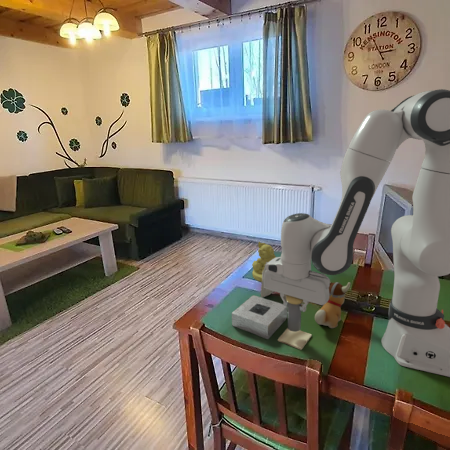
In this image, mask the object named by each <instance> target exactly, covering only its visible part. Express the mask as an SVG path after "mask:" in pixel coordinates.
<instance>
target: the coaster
mask: <svg viewBox="0 0 450 450" xmlns="http://www.w3.org/2000/svg"><path fill="white" fill-rule="evenodd" d="M311 337H312V334H311V333H309V332H306V331H302V330H301V329H300V330H299V331H297V332H294V331H290V330H289V329H288V327H287V328H286V329H285V330H284V331H283V333H282V334H281V335H280V336H279V337H278V339H277V341H278V342H280V343H282V344H285V345H288V346H290V347H293V348H295V349H297V350H300V351H302V350H303V349H304V348H305V345H306V344H308V342H309V340H310V339H311Z"/></svg>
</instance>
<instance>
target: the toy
mask: <svg viewBox="0 0 450 450" xmlns="http://www.w3.org/2000/svg"><path fill="white" fill-rule="evenodd" d="M325 276H327V274H325ZM325 278H326V277H325ZM351 284H352V283H351V282H347V284H346V285H342V284H341V283H340V282H337V281H336V282H331V281H330V286H329V300H328V302H327V303H326V304H324V305H322V307H321V308H319V309H318V310H317V311H316V312H315V314H314V320H315V322H316V324H318V325H323V326H326V327H327V326H328V328H330V329H334V328H337V327H338V326H339V324H338V323H339V322H341V320H342V318H341V315H342V309H341V308H342V305H343V304H344V303H345V297H346V293H347V292H348V291H349V290H350V288H351Z"/></svg>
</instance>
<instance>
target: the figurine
mask: <svg viewBox="0 0 450 450" xmlns="http://www.w3.org/2000/svg"><path fill="white" fill-rule="evenodd" d="M257 243H258V244H257V246H258V250H257V253H258V256H259V257H258V258H257V259H256V260H254V261H253V262H252V265H251V266H252V269H253V270H252V273H251V274H252V277H253V279H254V280H255V281H258V282H260V283H262V272H263V270H264V268H265V264H266V262H269V261H271V260H272V259H274V258H276V257H277V256H276V255H275V250H274V248H273V247H272V246H271V245H270V244H267V243H265V242H261V241H258V242H257Z"/></svg>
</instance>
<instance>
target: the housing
mask: <svg viewBox="0 0 450 450" xmlns="http://www.w3.org/2000/svg"><path fill="white" fill-rule="evenodd" d="M286 320H288V307H287V306H284V305H283V303H281V302H278V301H274V300H270V299H267V298H265V297H261V296H257V295H251V296H250V297H249V298H248V299H247V300H244V302H243V303H242V304H240V305H239V307H237V308H235V310H233V311H232V312H231V324H232V325H231V326H233V327H234V328H238V329H240V330H243V331H245V332H248V333H250V334H253V335H256V336H258V337H260V338H263V339H266V340H269V339H270V338H271V337H272V336H273V334H274V333H276V331H277V330H278V329H279V328H280V327H281V325H283V324H284V322H285V321H286Z"/></svg>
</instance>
